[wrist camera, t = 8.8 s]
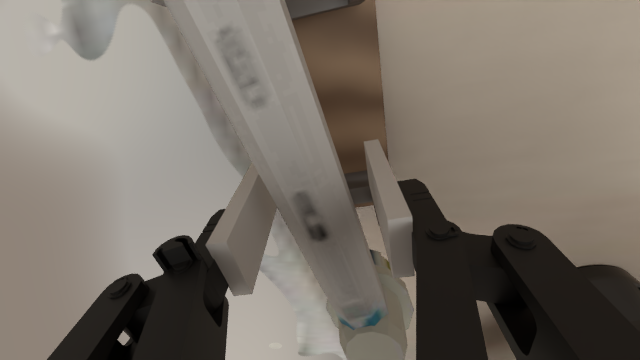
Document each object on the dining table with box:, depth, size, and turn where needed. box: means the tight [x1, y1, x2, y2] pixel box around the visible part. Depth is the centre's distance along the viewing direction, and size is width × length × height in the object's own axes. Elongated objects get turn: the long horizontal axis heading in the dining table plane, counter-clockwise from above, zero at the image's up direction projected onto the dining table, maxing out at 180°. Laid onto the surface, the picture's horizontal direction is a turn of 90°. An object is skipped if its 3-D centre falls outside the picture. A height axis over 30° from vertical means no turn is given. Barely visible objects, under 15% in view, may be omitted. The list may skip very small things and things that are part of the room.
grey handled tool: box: [151, 0, 414, 360], centre depth 13 cm, size 5×7×25 cm
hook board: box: [285, 0, 388, 226], centre depth 24 cm, size 26×12×9 cm, turn 11°
